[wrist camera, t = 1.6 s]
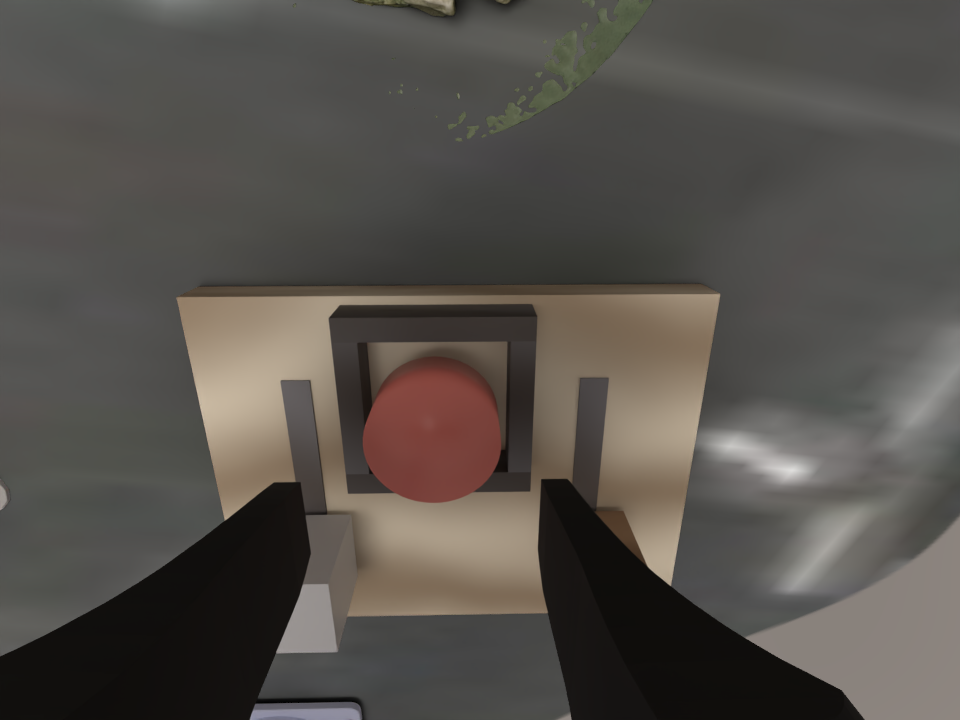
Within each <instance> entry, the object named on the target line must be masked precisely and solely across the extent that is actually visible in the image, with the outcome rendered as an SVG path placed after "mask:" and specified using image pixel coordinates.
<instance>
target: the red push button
mask: <svg viewBox="0 0 960 720" xmlns="http://www.w3.org/2000/svg"><path fill="white" fill-rule="evenodd" d="M363 450H364V455H365V458H366V461H367V463H368V465H369V467H370V469H371V471H372V472H373V474H374V475H375V476H376V478H377V479H378V480H379V481H380V482H381V483H382V484H383V485H384V486H386V487H387V488H388V489H390V490H391V491H393V492H394V493H396V494H398V495H400V496H402V497H405V498H407V499H410V500H414V501H418V502H425V503H442V502H448V501H453V500H456V499H460V498H462V497H464V496H467V495H469V494H470V493H472V492H474V491H475V490H477V489H478V488H479V487H481V486H482V485H483V484H484V483H485V482H486V481H487V480H488V478H489V477H490V476H491V475H492V473H493V471H494V470H495V468H496V466H497V463H498V461H499V457H500V453H501V435H500V426H499V417H498V408H497V402H496V398H495V395H494V393H493V391H492V389H491V387H490V385H489V384H488V382H487V381H486V380H485V378H484V377H483V376H482V375H481V374H480V373H479V372H477V371H476V370H475V369H474V368H472V367H470V366H469V365H467V364H465V363H463V362H461V361H458V360H455V359H452V358H447V357H437V356H432V357H423V358H418V359H415V360H412V361H409V362H407V363H405V364H403V365H401V366H400V367H398V368H397V369H395V370H394V371H393V372H392V373H391V374H389V376H388V377H387V378H386V379H385V380H384V382H383V383H382V385H381V387H380V389H379V391H378V393H377V396H376V398H375V401H374V403H373V406H372V409H371V411H370V414H369V416H368V419H367V422H366V425H365V428H364V433H363Z"/></svg>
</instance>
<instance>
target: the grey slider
mask: <svg viewBox="0 0 960 720" xmlns="http://www.w3.org/2000/svg"><path fill="white" fill-rule="evenodd" d="M306 522H307V529H308V535H309V542H310V549H311V555H310V559H309V563H308V567H307V571H306V575H305V578H304V582H303V586H302V589H301V593H300V596H299V598H298V601H297V603H296V606H295V608H294V611H293V613H292V616H291V618H290V620H289V623H288V625H287V628H286V630H285V633H284V635H283V637H282V640H281V642H280V645H279V647H278V649H277V652H276V653H315V652H338V649H339V645H340V641H341V637H342V634H343V630H344V626H345V622H346V618H347V615H348V611H349V607H350V603H351V599H352V596H353V592H354V588H355V584H356V581H357V577H358V573H357V564H356V555H355V546H354V536H353V527H352V518H351V515H306Z"/></svg>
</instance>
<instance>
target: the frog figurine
mask: <svg viewBox="0 0 960 720" xmlns="http://www.w3.org/2000/svg"><path fill="white" fill-rule="evenodd" d="M353 1H355V2H358V3H363V4H367V5H370V6H373V5H388V6H393V7H415V8H417V9H420V10H422V11H424V12H427V13H428V14H430V15H433V16H441V17H443V16H445V15H449V16H452V15H454V14H455V11H456V9H455V0H353ZM495 1H497V2H499V3H502V4H507V3H509V2H510V1H511V0H495ZM652 1H653V0H643V2H642V3H639V0H619V2H618V5H617V6H616V7H615V9H614V11H613V14H614V15H616V16H617V17H618V18H617V20H616V21H614V22H613V21H609V20H608V18H607V9H606V8H600V10H599V11H598V12H597V15H598V18H599V23H598V24H597V25H596V26H595V29H594V31H593V32H592V33H591V34H590V35H587V36H586V37H585V38H584V40H583V47H584V49H585V51H586V53H585V54H584V55H583V56H581V57H580V58H579V60H578V65H577V68H576V71H573V64H574V55H575V54H576V53H577V51H578V50H577V47H576V43H577V33H576V31H569V32H567V33H566V34H565V36H564V37H563V38H562V39H561V40H559V39H556V40H555V41H556V45H555V46H554V48H553V50H552V56H553V55H556V56H557V57H558V58H559V61H560V62H559V63H558V64H556V63H555V62H554V59H550V61H548V62H547V63H546V64H545V65H544V67H545V68H546V69H547V70H548V71H550V72H552V73H554V74H556V75H562V77H563V81H564V83H565V84H566V85H567V86H568V88H567V90H566V91H565V92H564V91H563V90H562V88H561V86H560V85H559V84H558V83H557V82H556V81H555V80H553V79H551V80H549V81H546V82H545V83H544V84H543V90H542V92H541V93H539V94H537V95H536V96H534V98H533V101H532V102H531V103H530V104H529V106H528V107H530V108H534V107H535V108H537V111H536V112H534V113H528V112H526V111H524V114H523V116H522V117H521V116H520V113H521V112H522V110H521V109H520V108H519V107H515V104H514V103H508V105H507V109H506V110H505V111H504V112H505V113H506V116H502V115H500V116H499V117H497V118H496V117H494V116H489V117H487V118H486V121H487V124H488V127H491V126H493V125H495V126H496V130H495V131H494V130H492V129H491V130H490V131H489V134H494V133H497V132H499V131H502V130H505V129H507V128H510V127H512V126H514V125H516V124H519V123H521V122H523V121H525V120H527V119H529V118H531V117H532V116H534V115H536V114H538V113H539V112H541V111H543V110H545V109H546V108H548V107H549V106H551V105H553V104H555V103H557V102H559V101H561V100H562V99H564V98H565V97H566V96H567V95H568V94H569V93H571V92H572V91H573V90H574V89H575V87H577V86H579V85H580V84H581V83H582V82H584V81H585V80H586V79H588V78H589V77H590V76H591V75H592V74H593V73H594V72H595V71H596V70H597V69H598V68H599V67H600V66H601V65H602V64H603V63H604V62H605V60H606V59H608V58H609V57H610V56H611V55H612V54H613V53H614V51H615V50H616V49H617V47H618V46H619V45H620V44H621V42H622V41H623V40H624V39H625V37H626V36H627V35H628V34H629V32H630V31H631V30H632V29H633V27H634V26H635V25H636V23H637V22H638V21H639V20H640V18H641V17H642V16H643V14H644V13H645V11H646V10H647V9H648V7H649V6H650V4H651V3H652ZM584 2H588V3H589V5H590V7H591V8H593V7H594V5H595V2H594V0H582V3H584ZM294 7H296V3H295V4H294V5H293V8H294ZM587 26H588V25H587V23H586V22H583V23H582V25H581V29H582V30H583V31H584V32H585V31H586V28H587ZM592 42H596V47H595V48H594V49H591V44H592ZM543 43H544V44H545V43H546V40H543ZM561 43H564V44H566V45H561ZM545 57H550V55H546V56H545ZM392 59H393V60H394V59H395V58H392ZM542 73H543V72H538V73H535V74H536V75H535V76H536V77H540V76H541V74H542ZM572 82H575V83H577V84H576V86H575V87H574V86H573V85H572ZM400 86H401V87H402V86H403V84H400ZM514 90H515V91H519V88H516V89H514ZM528 90H529V91H531V90H533V87H532V86H530V87H529V89H528ZM416 91H418V88H416ZM397 93H399V94H402V90H399V91H397ZM389 94H391V91H390V92H389ZM457 98H458V100H459V93H457ZM525 100H526V97H525V96H521V97H520V99H519V100H518V101H517V105H519V104H520V103H521V102H523V101H525ZM414 109H415V108H414ZM513 109H514V110H513ZM435 117H436V118H437V116H435ZM465 117H466V113H465V112H463V113H462V114H461V115H460V116H459V117H458V118H459V122H458V124H460V123H461V122H462V121H463V120H464V119H465ZM498 120H500V121H502V122H503V123H504V125H503V124H500V123H499V122H498ZM458 124H449V125H448V129H452V128H453V127H455V126H456V125H458ZM478 128H479V126H468V127H467V129H469V132H468V134H467V136H466V137H467V138H468V139H469V138H471V137H472V136H474V134H475V131H474V130H477V129H478ZM482 137H486V135H485V134H483V135H482ZM482 137H481V138H482ZM455 141H463V140H462V139H460V138H457V139H456V140H455Z"/></svg>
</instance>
